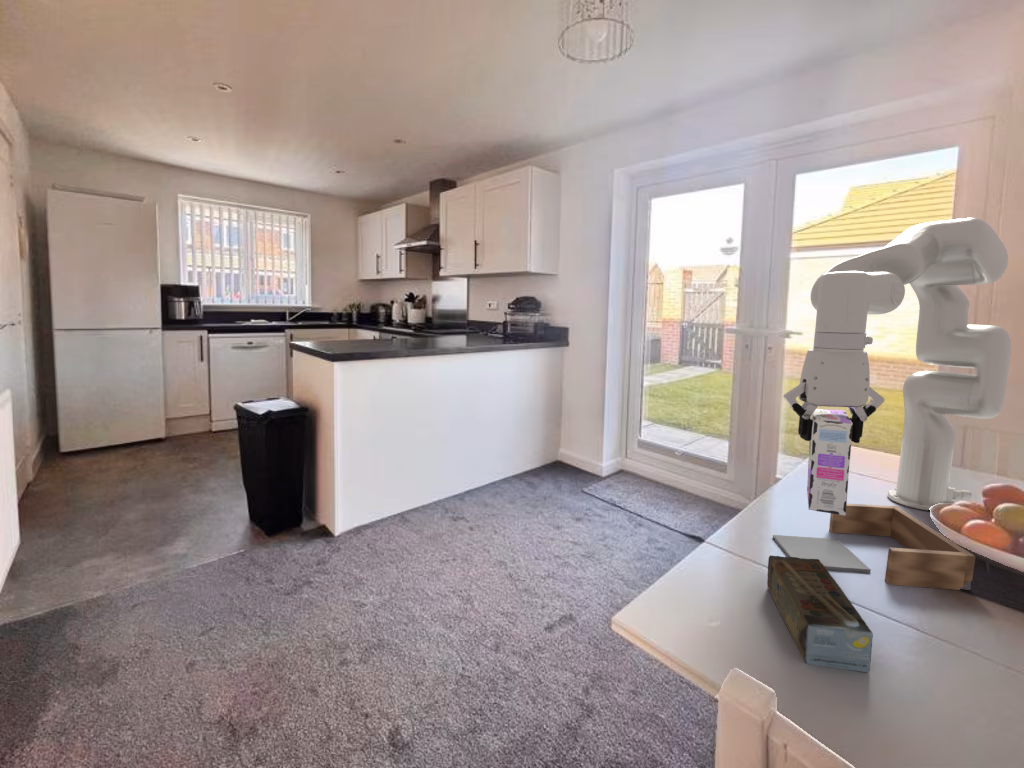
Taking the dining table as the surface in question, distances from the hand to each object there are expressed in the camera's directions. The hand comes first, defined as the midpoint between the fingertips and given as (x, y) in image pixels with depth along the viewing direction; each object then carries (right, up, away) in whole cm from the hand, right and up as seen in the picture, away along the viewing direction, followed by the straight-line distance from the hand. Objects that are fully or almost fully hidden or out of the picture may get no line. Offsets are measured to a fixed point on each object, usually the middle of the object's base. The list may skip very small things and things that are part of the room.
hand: (828, 439), depth 92 cm
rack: (+13, -22, +2) cm, 26 cm away
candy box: (0, -12, +2) cm, 12 cm away
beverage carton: (-14, -26, -18) cm, 34 cm away
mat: (0, -22, +3) cm, 22 cm away
